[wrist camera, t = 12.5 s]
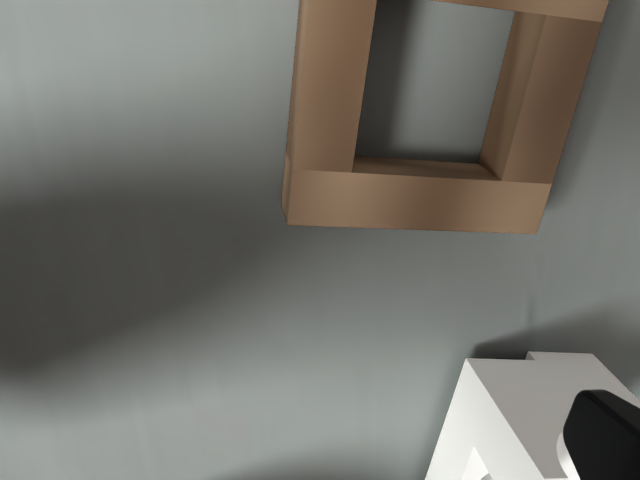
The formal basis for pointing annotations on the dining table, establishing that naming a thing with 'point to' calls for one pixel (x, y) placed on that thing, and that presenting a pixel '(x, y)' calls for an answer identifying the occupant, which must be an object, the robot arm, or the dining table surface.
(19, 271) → the dining table surface
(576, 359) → the bracket
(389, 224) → the walnut collar
